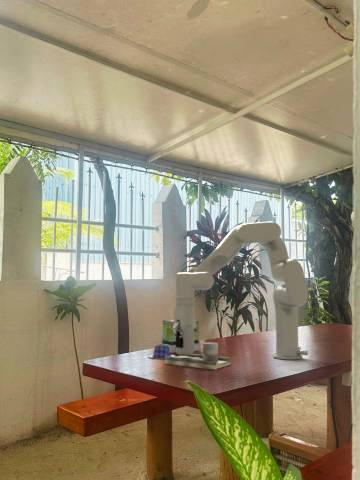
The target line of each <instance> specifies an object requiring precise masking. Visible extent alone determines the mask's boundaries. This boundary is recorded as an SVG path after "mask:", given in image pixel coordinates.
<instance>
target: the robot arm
mask: <svg viewBox="0 0 360 480" xmlns="http://www.w3.org/2000/svg"><path fill="white" fill-rule="evenodd" d="M281 235H282V229H281V227H280V225H279V224H278V223H277V222H274V221H262V222H261V221H259V222H248V223H242V224H238V225H236V226H234V227H232V228H231V229H230V231H229V232H228V233H227V234H226V235H225V236H224V238H223V239H222V241H220V243H219V244H218V245H217V246H216V248H215V249H213V251H211V253H210V254H208V256H207V257H205V259H204V260H202V262H201V263H200V264H199V265H198V266H197V267H196V268H195V270H194V271H193V272H185V271H184V272H177V273H176V275H175V307H174V312H173V320H174V321H173V328H172V329H173V332H174V334H175V337H176V347H177V348H183V338H182V335H183V331H185V329H186V328H187V325H192V327H193V328H194V335H195V331H196V328H197V324H196V323H195V320H196V312H195V311H196V310H195V290H196V291H207V290H209V289H211V288H212V287H213V286H214V284H215V278H214V276H213V275H215V273H217V272H218V271H219V270H221V269H223V268H224V267H226V266H227V265H229V264H230V263H231V262H232V261H233V260H234V258H235V257H236V256H237V254H238V253H239V252H240V251H241V249H242V248H243V247H244V246H245V245H247V244H257V243H258V244H260V245H262V246H263V248H264V249H265V250H266V254H267V256H268V262H269V267H270V272H271V275H272V278H273V279H274V280H275V281H277V282H281V283H282V282H284V284H280V285H278V286H276V288H275V289H274V290H273V294H272V299H273V304H274V312H275V314H274V315H275V353H273V354H272V358H273V359H277V360H302V359H303V356H309V351H308V350H306V349H303V350H302V349H301V348H302V347H301V346H299V318H298V317H299V316H298V310H297V308H299V307H302V306H304V305H305V304H306V303H307V301H308V296H309V295H308V289H307V282H306V277H305V273H304V268H303V266H302V264H301V263H300V262H299V261H298V260H296V259H293V258H290V256H289V253H288V248H287V246H286V244H285V241H284V240H283V239H282V238H281ZM178 328H181V330H179V329H178ZM179 332H180V333H179Z"/></svg>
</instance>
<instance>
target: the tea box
mask: <svg viewBox="0 0 360 480" xmlns="http://www.w3.org/2000/svg"><path fill="white" fill-rule="evenodd" d="M173 321H174V319H163V320H162V333H161V334H162V335H161V336H162V338H161V342H162V344H161V345H167V346H168V347H169V350H170V354H174V353H176V337H175V334H174V332H173V329H172V328H173ZM195 323H196V324H197V328H196V331H195V335H194V352H198V351H199V342H200V341H199V339H200V338H199V336H200V335H199V334H200V333H199V332H200V327H199V326H200V324H199V323H200V321H199V320H197V319H195Z"/></svg>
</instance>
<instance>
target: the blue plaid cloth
mask: <svg viewBox="0 0 360 480" xmlns="http://www.w3.org/2000/svg"><path fill="white" fill-rule="evenodd" d="M166 356H168V357H176V355H175V354H172V353H170V350H169V347H168V346H167V345H162V344H158V345H155V346H154V349H153V354H150V355H148V356H147V357H148V358H151V359H155V360H158V359H159V360H163V359H164V360H165V357H166Z"/></svg>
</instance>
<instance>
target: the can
mask: <svg viewBox="0 0 360 480" xmlns="http://www.w3.org/2000/svg"><path fill="white" fill-rule="evenodd" d="M178 329H179V330H181V328H178ZM179 333H180V332H179ZM182 338H183V348H177V347H176V352H175V353H176V354H177V355H178V356H181V355H183V356H186V355H192V354H195V351H194V328H193V327H192V325H187V328H186V329H185V331H183V335H182Z"/></svg>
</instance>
